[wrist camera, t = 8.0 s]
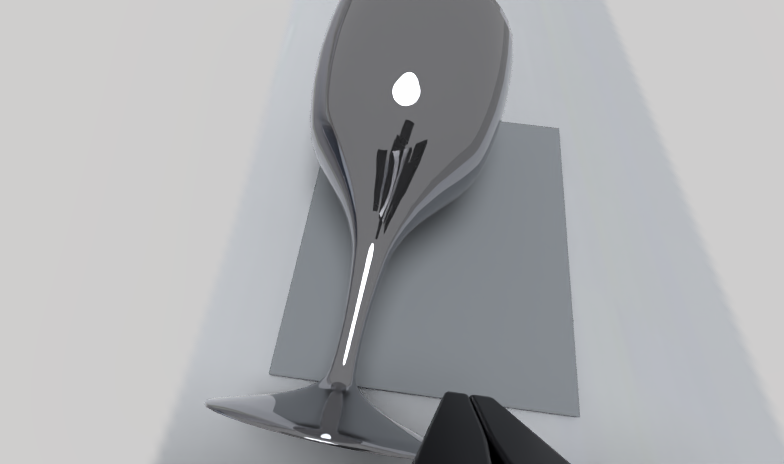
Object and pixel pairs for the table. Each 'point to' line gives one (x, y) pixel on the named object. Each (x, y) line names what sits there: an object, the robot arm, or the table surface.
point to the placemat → (452, 289)
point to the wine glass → (389, 175)
